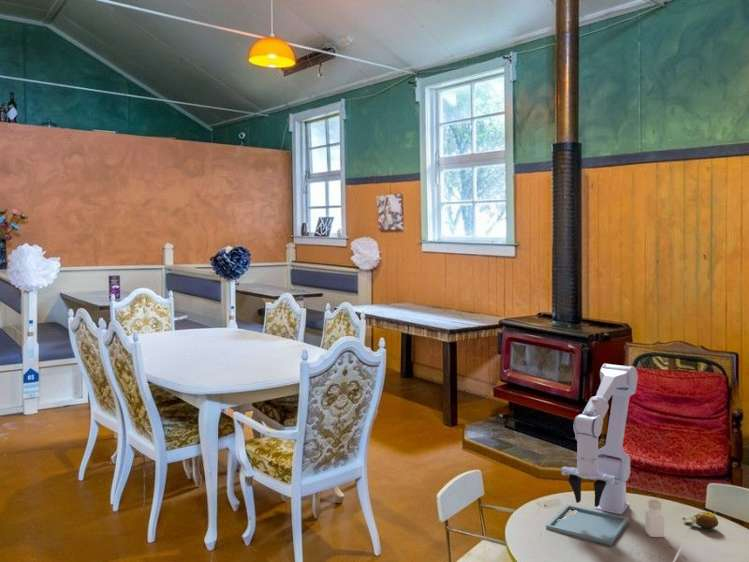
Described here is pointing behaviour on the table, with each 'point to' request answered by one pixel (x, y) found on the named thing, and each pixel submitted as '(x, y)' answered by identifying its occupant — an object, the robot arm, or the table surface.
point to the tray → (589, 525)
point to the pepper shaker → (654, 519)
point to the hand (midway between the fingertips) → (587, 503)
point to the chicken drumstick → (704, 520)
